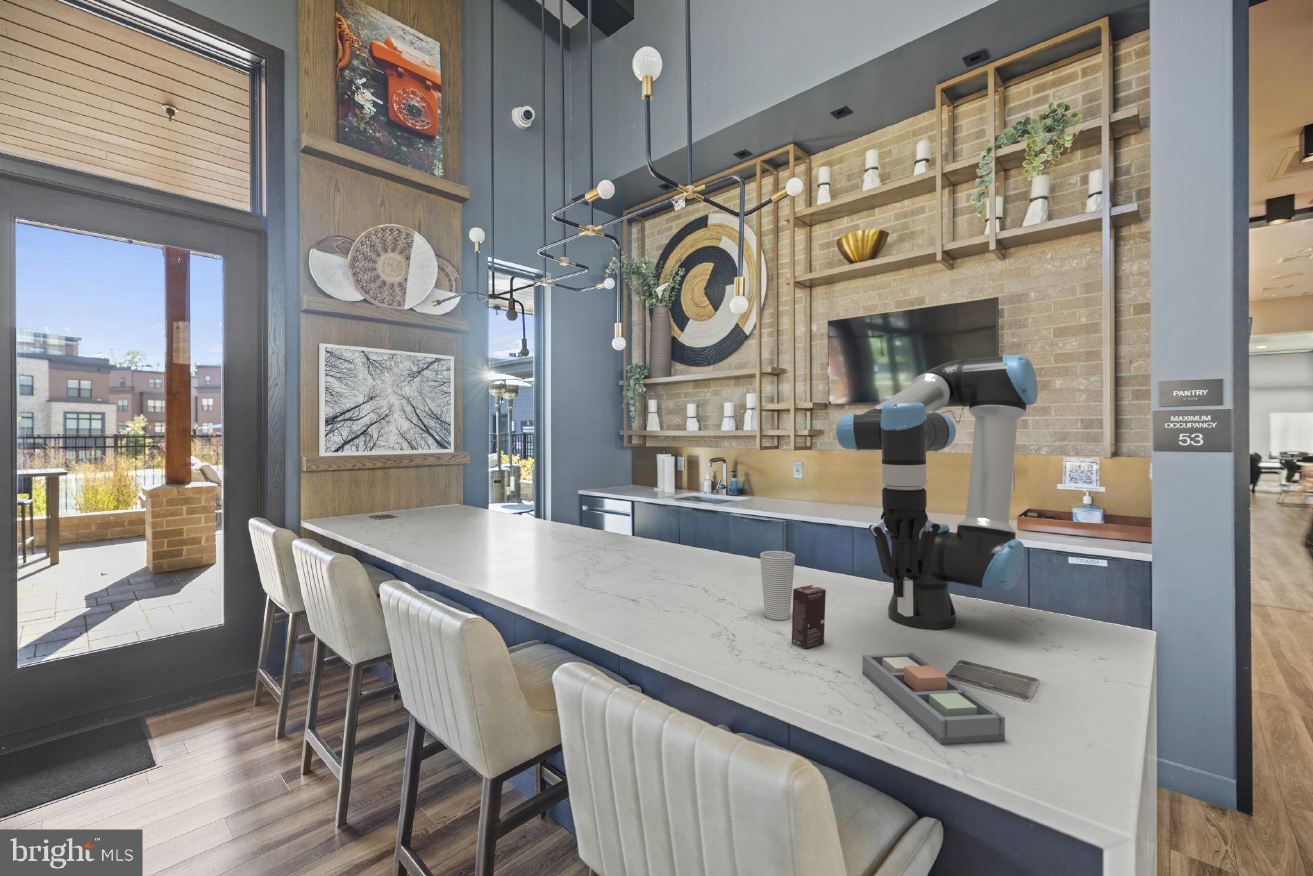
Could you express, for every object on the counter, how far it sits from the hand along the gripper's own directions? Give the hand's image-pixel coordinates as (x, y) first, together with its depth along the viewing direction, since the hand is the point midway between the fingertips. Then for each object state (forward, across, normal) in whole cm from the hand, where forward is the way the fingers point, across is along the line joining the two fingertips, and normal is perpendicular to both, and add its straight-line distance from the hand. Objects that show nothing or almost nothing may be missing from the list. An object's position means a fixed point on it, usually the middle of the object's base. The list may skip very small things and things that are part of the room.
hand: (905, 613), depth 107 cm
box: (+12, +12, -18) cm, 25 cm away
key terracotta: (+9, +2, +10) cm, 13 cm away
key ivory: (+11, +2, +2) cm, 11 cm away
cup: (+13, +12, -37) cm, 41 cm away
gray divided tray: (+12, +2, +10) cm, 16 cm away
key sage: (+10, +2, +17) cm, 20 cm away
